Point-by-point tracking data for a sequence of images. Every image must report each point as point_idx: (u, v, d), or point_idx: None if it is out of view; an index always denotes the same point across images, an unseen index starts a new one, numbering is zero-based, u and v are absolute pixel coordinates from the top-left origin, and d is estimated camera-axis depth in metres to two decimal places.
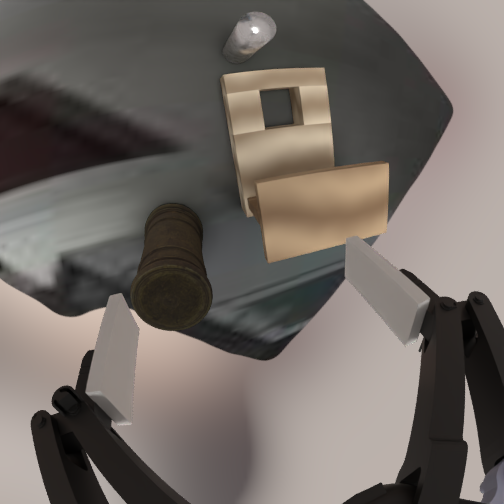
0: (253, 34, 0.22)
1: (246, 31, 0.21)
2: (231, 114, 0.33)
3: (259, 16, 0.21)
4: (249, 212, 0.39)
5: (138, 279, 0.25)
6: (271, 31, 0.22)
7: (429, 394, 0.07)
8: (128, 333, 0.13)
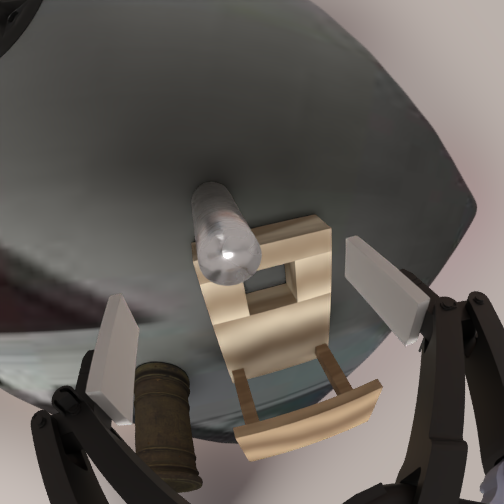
0: (224, 272, 0.18)
1: (213, 269, 0.18)
2: (208, 306, 0.29)
3: (234, 237, 0.17)
4: None
5: None
6: (253, 261, 0.18)
7: (429, 394, 0.07)
8: (128, 333, 0.13)
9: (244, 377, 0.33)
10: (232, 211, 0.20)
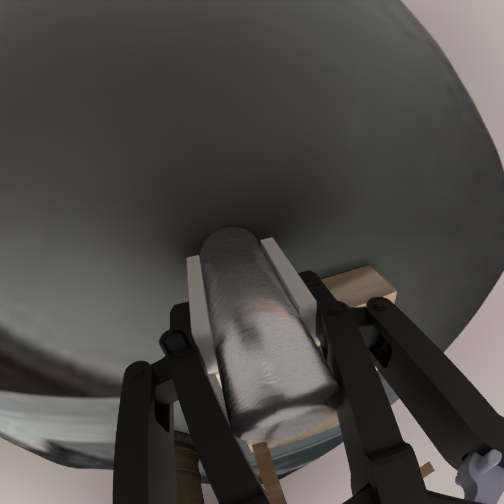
0: (275, 430, 0.09)
1: (256, 431, 0.08)
2: None
3: (301, 393, 0.08)
4: (254, 450, 0.26)
5: None
6: (326, 411, 0.09)
7: (347, 408, 0.07)
8: None
9: (267, 453, 0.24)
10: (284, 314, 0.10)
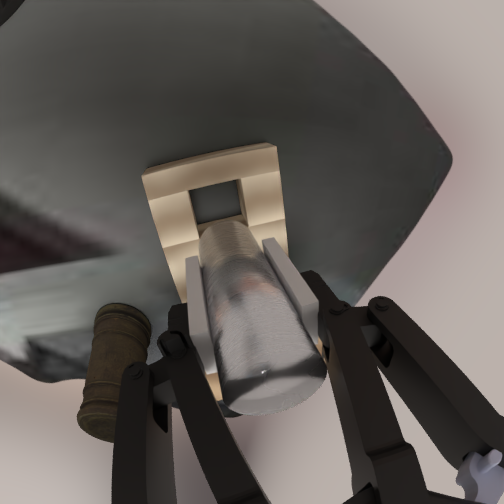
0: (264, 403, 0.10)
1: (246, 402, 0.09)
2: (156, 225, 0.28)
3: (287, 362, 0.09)
4: None
5: (80, 417, 0.21)
6: (312, 385, 0.10)
7: (348, 407, 0.07)
8: None
9: None
10: (273, 294, 0.12)
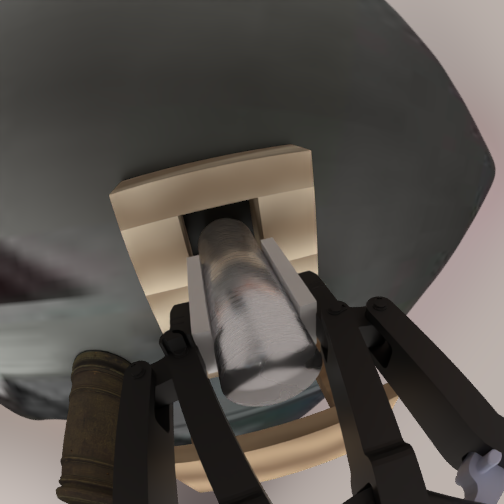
0: (262, 393, 0.10)
1: (244, 392, 0.10)
2: (135, 265, 0.19)
3: (283, 352, 0.09)
4: None
5: (59, 496, 0.12)
6: (308, 376, 0.10)
7: (347, 408, 0.07)
8: None
9: None
10: (270, 288, 0.12)
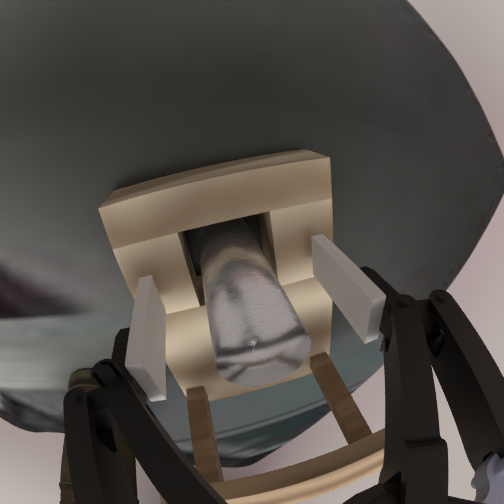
0: (254, 373, 0.11)
1: (238, 371, 0.11)
2: (130, 287, 0.17)
3: (272, 331, 0.10)
4: None
5: None
6: (297, 356, 0.11)
7: (397, 396, 0.07)
8: (158, 313, 0.14)
9: (202, 400, 0.21)
10: (263, 274, 0.13)
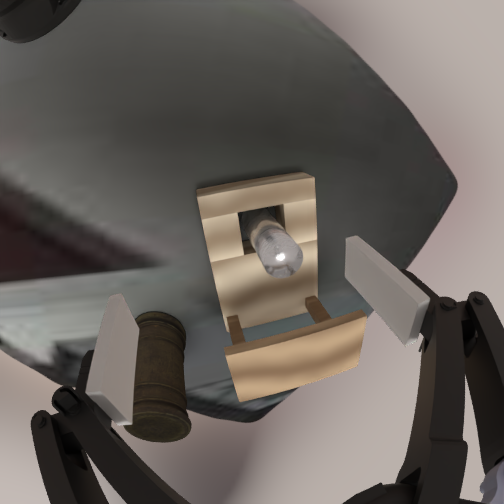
0: (279, 269, 0.27)
1: (272, 267, 0.27)
2: (207, 241, 0.33)
3: (287, 246, 0.27)
4: (228, 328, 0.39)
5: None
6: (297, 262, 0.28)
7: (429, 394, 0.07)
8: (128, 333, 0.13)
9: (237, 321, 0.37)
10: (282, 229, 0.29)
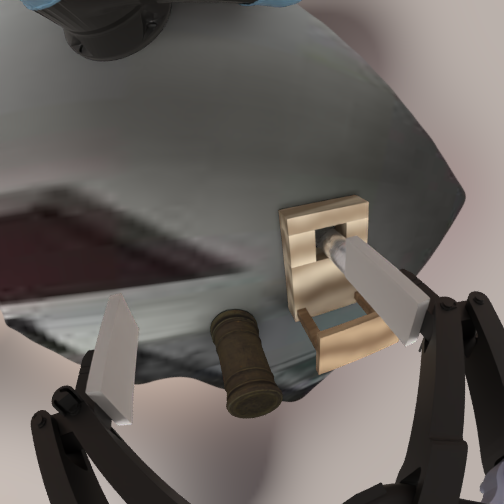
0: None
1: None
2: (291, 252, 0.42)
3: None
4: (297, 318, 0.49)
5: (236, 398, 0.35)
6: None
7: (429, 394, 0.07)
8: (128, 333, 0.13)
9: (307, 313, 0.47)
10: None
